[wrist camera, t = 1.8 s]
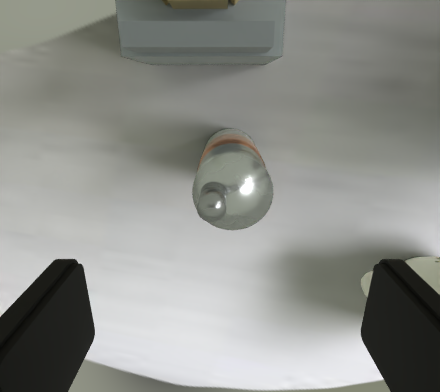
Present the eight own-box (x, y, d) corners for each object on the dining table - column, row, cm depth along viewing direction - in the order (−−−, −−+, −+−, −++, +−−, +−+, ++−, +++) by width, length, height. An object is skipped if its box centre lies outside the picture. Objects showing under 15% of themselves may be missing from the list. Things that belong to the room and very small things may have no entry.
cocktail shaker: (257, 128, 28) (284, 163, 15) (255, 180, 30) (277, 250, 17) (203, 128, 28) (184, 163, 15) (204, 180, 30) (188, 249, 17)
